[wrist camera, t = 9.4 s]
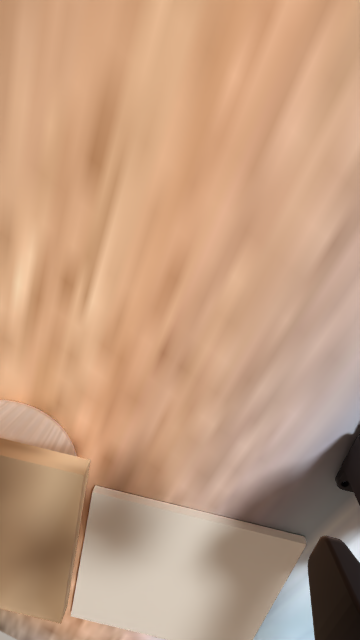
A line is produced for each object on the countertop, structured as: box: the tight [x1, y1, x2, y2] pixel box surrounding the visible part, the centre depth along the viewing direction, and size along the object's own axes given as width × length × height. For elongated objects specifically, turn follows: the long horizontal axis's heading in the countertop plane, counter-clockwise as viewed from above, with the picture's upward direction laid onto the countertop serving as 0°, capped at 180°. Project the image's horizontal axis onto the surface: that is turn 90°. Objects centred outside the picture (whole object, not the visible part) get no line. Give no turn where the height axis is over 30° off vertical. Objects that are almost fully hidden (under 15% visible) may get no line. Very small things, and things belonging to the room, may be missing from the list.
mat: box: [71, 485, 307, 640], centre depth 28 cm, size 16×16×1 cm
